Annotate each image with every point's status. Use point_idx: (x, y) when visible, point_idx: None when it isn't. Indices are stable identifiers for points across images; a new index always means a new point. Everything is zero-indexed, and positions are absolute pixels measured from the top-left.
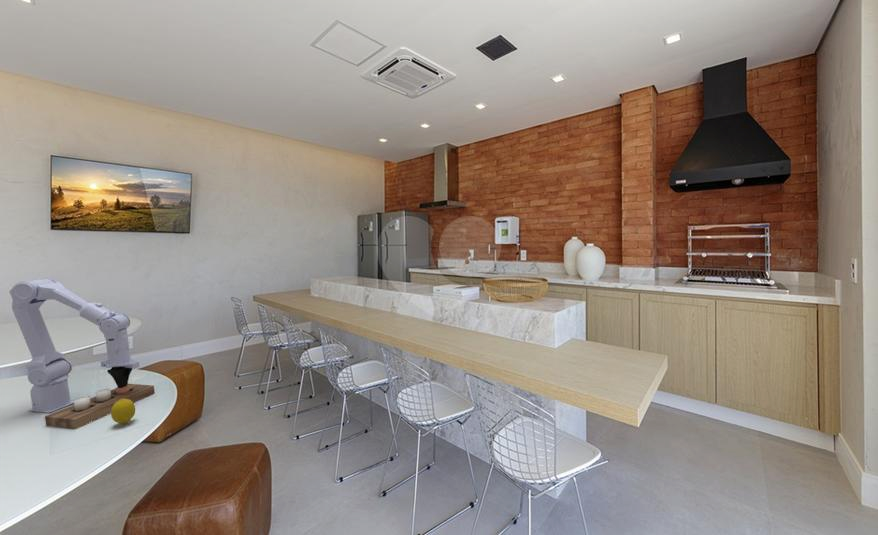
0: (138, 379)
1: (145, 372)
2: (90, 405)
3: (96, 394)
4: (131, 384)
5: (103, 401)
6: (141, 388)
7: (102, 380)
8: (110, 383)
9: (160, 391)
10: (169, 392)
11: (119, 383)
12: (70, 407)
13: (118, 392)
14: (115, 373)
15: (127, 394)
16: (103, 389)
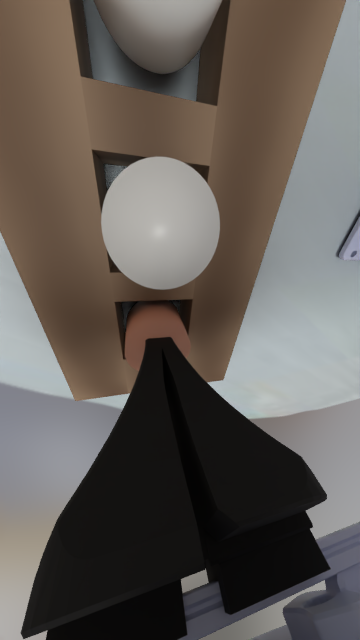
0: (253, 398)
1: (266, 416)
2: (110, 25)
3: (173, 161)
4: None
5: None
6: (99, 372)
7: (343, 372)
8: (312, 369)
9: None
10: (28, 387)
11: (145, 359)
12: (312, 5)
13: (149, 312)
14: (143, 478)
15: (80, 313)
16: (199, 268)
